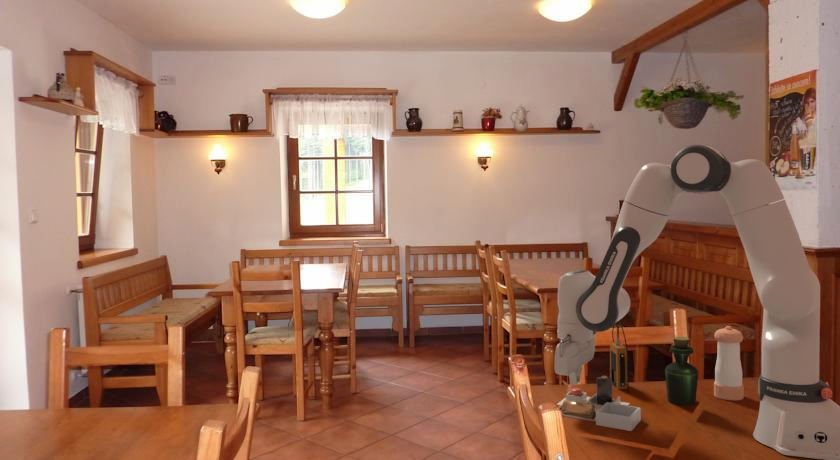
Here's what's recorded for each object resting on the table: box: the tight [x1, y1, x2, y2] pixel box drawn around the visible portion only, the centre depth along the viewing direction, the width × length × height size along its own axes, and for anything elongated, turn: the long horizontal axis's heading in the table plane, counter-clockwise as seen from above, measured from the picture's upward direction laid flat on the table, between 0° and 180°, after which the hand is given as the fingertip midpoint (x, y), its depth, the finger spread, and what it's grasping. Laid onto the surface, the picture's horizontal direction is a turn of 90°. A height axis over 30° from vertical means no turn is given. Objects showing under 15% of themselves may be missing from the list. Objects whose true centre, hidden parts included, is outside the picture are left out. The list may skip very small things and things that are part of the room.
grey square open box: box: [595, 402, 642, 432], centre depth 151 cm, size 8×8×4 cm
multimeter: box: [607, 322, 630, 393], centre depth 179 cm, size 15×10×20 cm
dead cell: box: [596, 375, 613, 405], centre depth 162 cm, size 4×4×8 cm
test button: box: [570, 387, 583, 396], centre depth 167 cm, size 3×3×2 cm
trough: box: [558, 405, 596, 423], centre depth 157 cm, size 11×6×2 cm, turn 56°
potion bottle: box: [664, 336, 699, 407], centre depth 164 cm, size 8×8×18 cm
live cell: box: [561, 400, 596, 419], centre depth 157 cm, size 8×4×4 cm, turn 56°
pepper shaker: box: [713, 325, 745, 401], centre depth 172 cm, size 7×7×19 cm
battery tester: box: [556, 390, 631, 411], centre depth 164 cm, size 16×10×4 cm, turn 56°
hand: (575, 383), depth 167 cm, fingers closed
